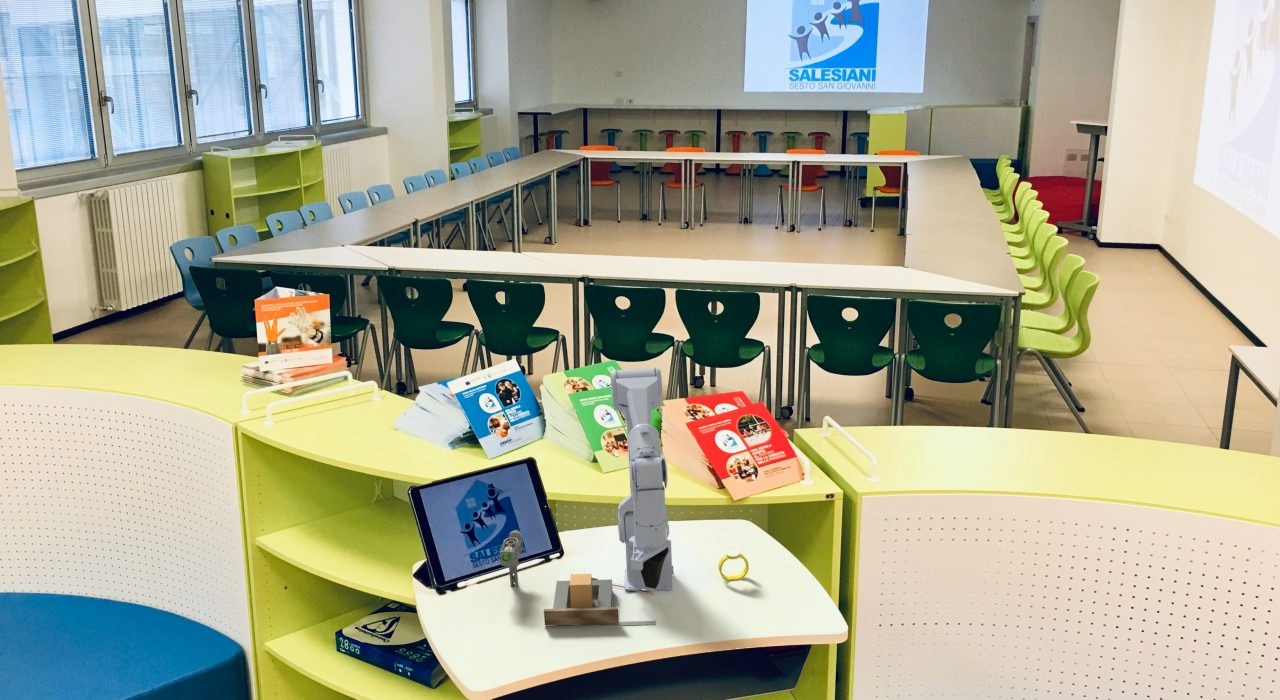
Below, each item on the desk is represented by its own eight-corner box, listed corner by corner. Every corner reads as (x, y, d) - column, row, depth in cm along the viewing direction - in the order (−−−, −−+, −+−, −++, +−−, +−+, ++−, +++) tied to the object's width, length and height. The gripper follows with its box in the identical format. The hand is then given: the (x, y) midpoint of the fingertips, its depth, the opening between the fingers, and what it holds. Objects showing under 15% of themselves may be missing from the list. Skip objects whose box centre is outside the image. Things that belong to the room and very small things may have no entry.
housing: (654, 589, 218) (654, 578, 217) (655, 624, 206) (655, 612, 205) (550, 592, 218) (549, 581, 217) (544, 627, 206) (544, 615, 205)
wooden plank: (618, 620, 207) (618, 606, 206) (618, 623, 206) (618, 609, 205) (545, 622, 207) (544, 609, 206) (544, 625, 206) (543, 611, 205)
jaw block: (592, 600, 214) (591, 573, 212) (592, 611, 210) (590, 584, 208) (572, 601, 214) (570, 574, 212) (571, 612, 210) (569, 585, 208)
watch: (721, 584, 220) (719, 558, 218) (718, 578, 222) (716, 552, 220) (750, 579, 220) (748, 553, 218) (747, 572, 223) (744, 547, 221)
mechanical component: (526, 572, 226) (523, 528, 223) (516, 598, 216) (512, 553, 213) (512, 571, 226) (508, 528, 223) (501, 598, 217) (498, 553, 214)
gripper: (643, 499, 205) (645, 563, 209) (613, 534, 192) (616, 602, 196) (679, 504, 202) (680, 569, 206) (651, 540, 189) (653, 608, 194)
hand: (651, 586), depth 201 cm, fingers closed
